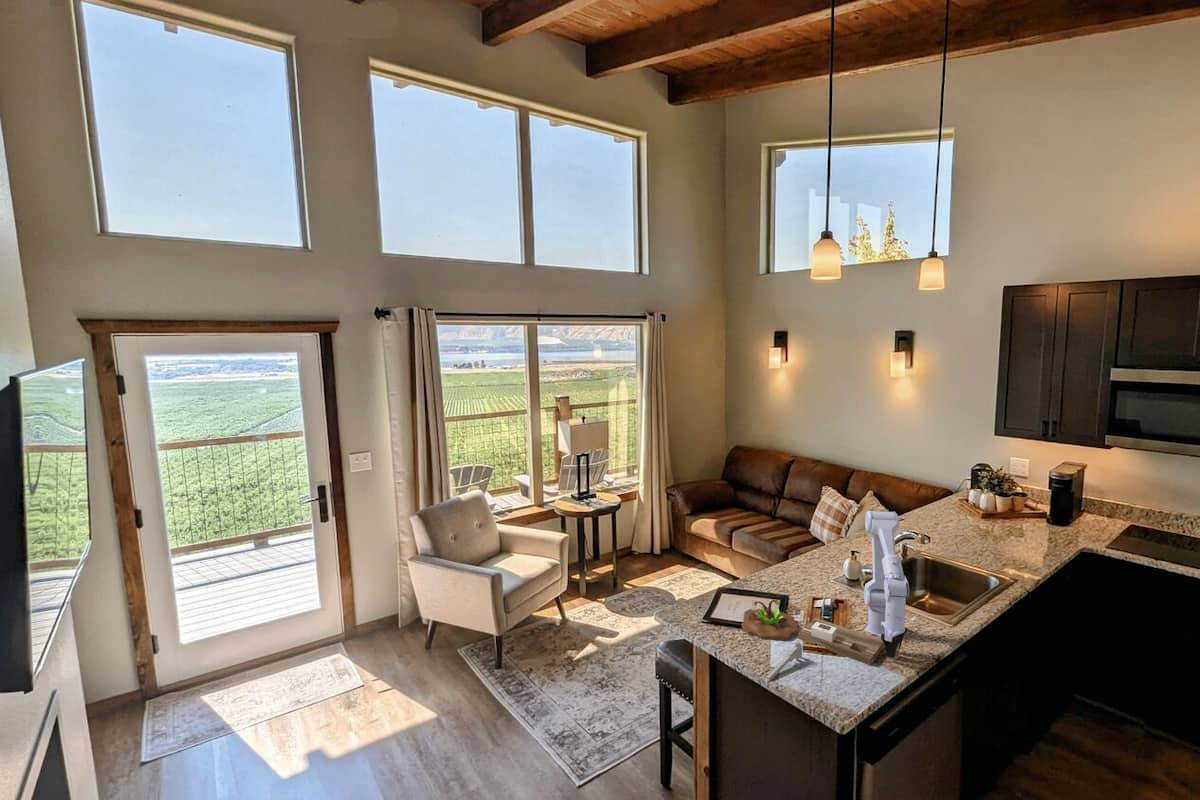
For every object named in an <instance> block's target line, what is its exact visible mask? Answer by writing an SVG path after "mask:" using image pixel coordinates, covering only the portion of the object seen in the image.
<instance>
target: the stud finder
mask: <svg viewBox="0 0 1200 800" xmlns="http://www.w3.org/2000/svg"><path fill="white" fill-rule="evenodd" d="M811 636H814V637H817V638H820V639H823V640H826V641H829V642H832V641H833V640H834V639H835V638H836V636H837V628H835V627H832V626H829V625H826V624H823V623H819V622H816V623H815V624H814V625H813V626H812V627H811Z"/></svg>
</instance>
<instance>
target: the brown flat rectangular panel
mask: <svg viewBox="0 0 1200 800" xmlns="http://www.w3.org/2000/svg"><path fill="white" fill-rule="evenodd" d="M816 622H819V623H823V624H826V625H829V626H832V627H835V628H837V636H836V638H835V639H834V640H833V641H832V642H829V641H826V640H823V639H820V638H817V637H814V636H811V627H812V626H813V625H814V624H815V623H816ZM798 640H801V641H803V642H806V643H808V642H809V644H811V643H813V644H812V645H814V644H817V645H820V646H823V647H825V648H827V649H829V650H828V651H830V650H831V651H830V652H832V651H833V652H832V653H835V654H838V655H840V656H843V657H846V658H849V659H851V660H854V661H857V662H860V663H863V664H864V665H867V666H872V664H873V663H874V662H875V661H876V660H877V658H878V657H879V655H880V654H881V652H882V651H883V650H884V649H885V646H884V643H883V641H882V639H881V638H877V637H875V636H871V635H869V634H865V633H862V632H861V631H860V632H859V631H857V630H854V629H851V628H848V627H844V626H841V625H838V624H836V623H832V622H829V621H827V620H823V619H821V618H817V617H813V619H812V620H811V621H810V622H808V623H807V624H806V625H805V626H804V628H802V629H801V630H800V631H798ZM827 649H826V650H827Z"/></svg>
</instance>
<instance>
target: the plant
mask: <svg viewBox="0 0 1200 800" xmlns="http://www.w3.org/2000/svg"><path fill="white" fill-rule="evenodd" d="M758 603H759V604H760V605H762V606H760V608H756V609H747V610H746V611H744V613H743V621H742V622H741V626H742V627H741V628H742V630H743V632H745V633H746V634H747V635H748V636H755V637H758V638H759V639H760V640H771V641H782V642H784V641H785V642H788V641H790V639H793V638H795V637H796V636H797V634H798V632H799V631H798V630H799V624H798V623H797V622H796V620H795V616H793V615H789V614H788V613H785V612H782V611H780V609H779V608H776V609H774V610H772V603H774V604H775V605H777V606H778V605H780V602H779V600H777V599H772V600H770V602H768V605H767V606H766V605H765V604H764V603H763V602H762V601H760V600H759V601H754V602H753V606H754V607H755V606H757V605H758Z"/></svg>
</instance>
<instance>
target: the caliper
mask: <svg viewBox="0 0 1200 800" xmlns="http://www.w3.org/2000/svg"><path fill="white" fill-rule="evenodd" d="M794 645H795V646H794V647H793V648H792V649H791V650H789V652H788V653H787V655H786V656H785V657H784V658H783V659H782V660H781V661H780V662H779V663H778V665H776V666H775V667H774V668H773V669H772V670H770V673H768V674H767V675H766V678H765V679H764V683H769V681H772V680H773V679H774V678H775V677H776V676H777V675H778V674H779V673H780V672H781V670H783V668H785V667H786V665H787V664H788V663H791V662H793V661H794V660H796V661H800V659H802V657H803V645H802V643H801V642H800V641H798V640H797V641H796V642H795V643H794Z"/></svg>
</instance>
